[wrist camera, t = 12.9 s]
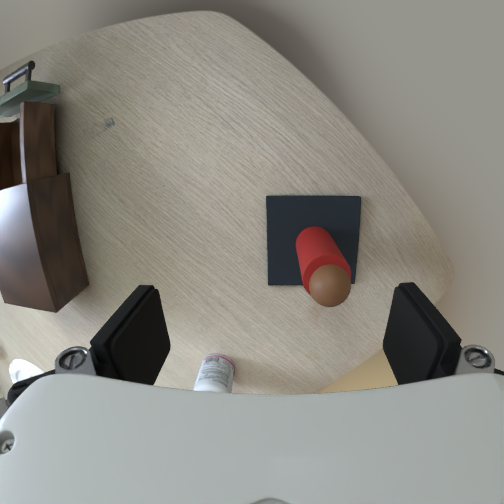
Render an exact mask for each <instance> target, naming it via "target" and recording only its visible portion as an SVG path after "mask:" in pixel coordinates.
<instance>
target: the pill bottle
mask: <svg viewBox="0 0 504 504" xmlns="http://www.w3.org/2000/svg"><path fill="white" fill-rule="evenodd" d="M234 373H235V365H234V363H233V362H232V361H231V360H230V359H229V358H228V357H226V356H224V355H221V354H211V355H208V356H207V357H205V358H204V359H203V361H202V364H201V367H200V370H199V374H198V377H197V380H196V383H195V386H194V389H193V390H194V391H205V392H217V393H231V390H232V385H233V379H234Z"/></svg>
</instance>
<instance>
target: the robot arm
mask: <svg viewBox="0 0 504 504" xmlns="http://www.w3.org/2000/svg"><path fill="white" fill-rule="evenodd" d="M460 343H461V338H460V337H459V336H458V335H457V333H456V332H455V331H454V329H453V328H452V327H451V326H450V324H449V323H448V322H447V321H446V319H445V318H444V317H443V316H442V315H441V313H440V312H439V311H438V310H437V309H436V307H435V306H434V305H433V304H432V303H431V301H430V300H429V299H428V298H427V297H426V296H425V294H424V293H423V292H422V291H421V290H420V289H419V288H418V287H417V285H416V284H415V283H414V282H410V283H400V284H399V286H398V287H395V290H394V294H393V300H392V305H391V309H390V314H389V319H388V323H387V327H386V332H385V336H384V340H383V350H384V352H385V355H386V357H387V359H388V361H389V364H390V366H391V368H392V371H393V373H394V375H395V378H396V380H397V382H398V385H396V386H389V387H382V388H374V389H366V390H357V391H346V392H334V393H317V394H285V395H265V394H233V393H217V392H205V391H194V390H184V389H176V388H168V387H160V386H153V385H154V383H155V381H156V379H157V376H158V374H159V372H160V370H161V368H162V366H163V364H164V362H165V360H166V358H167V356H168V354H169V351H170V346H171V345H170V339H169V335H168V331H167V327H166V322H165V318H164V313H163V309H162V304H161V299H160V294H159V291H158V289H155V288H154V286H153V285H139V286H138V287H137V288H136V289H135V290H134V291H133V292H132V294H131V295H130V296H129V297H128V298H127V299H126V300H125V301H124V303H123V304H122V305H121V306H120V307H119V308H118V309H117V310H116V312H115V313H114V314H113V315H112V316H111V317H110V318H109V320H108V321H107V322H106V323H105V324H104V325H103V327H102V328H101V329H100V330H99V331H98V333H97V334H96V335H95V336H94V337H93V338H92V340H91V341H90V344H91V346H92V347H91V348H90V349H89V350H88V349H87V348H85V347H79V346H76V347H71V348H68V349H66V350H64V351H63V352H61V353H60V354H59V355H58V356H57V358H56V360H55V369H54V370H51V371H48V372H45V373H42V374H39V375H36V376H33V377H30V378H27V379H24V380H21V381H18V382H16V383H14V384H13V386H12V387H11V388H10V390H9V392H8V396H7V398H8V399H7V400H5V398H4V397H3V398H1V399H0V504H504V372H503V371H501V370H498V369H495V368H494V367H495V359H494V357H493V355H492V353H491V352H490V351H489V350H487V349H486V348H484V347H482V346H478V345H468V346H465V347H464V348H462V347H461V346H460Z"/></svg>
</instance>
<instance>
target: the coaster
mask: <svg viewBox="0 0 504 504" xmlns="http://www.w3.org/2000/svg"><path fill="white" fill-rule="evenodd" d="M266 209H267V251H268V285H303V282H302V276H301V271H300V266H299V261H298V256H297V251H296V239H297V237H298V235H299V234H300V233H301V232H302V231H303V230H304V229H306V228H308V227H312V226H317V227H321V228H323V229H325V230H326V231H328V233H329V234H330V236H331V237H332V239H333V240H334V242H335V244H336V245H337V247H338V248H339V250H340V252H341V253H342V255H343V257H344V258H345V260H346V262H347V263H348V265H349V267H350V270H351V279H350V281H351V284H354V283H355V274H356V264H357V253H358V242H359V228H360V210H361V197H360V196H266Z"/></svg>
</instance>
